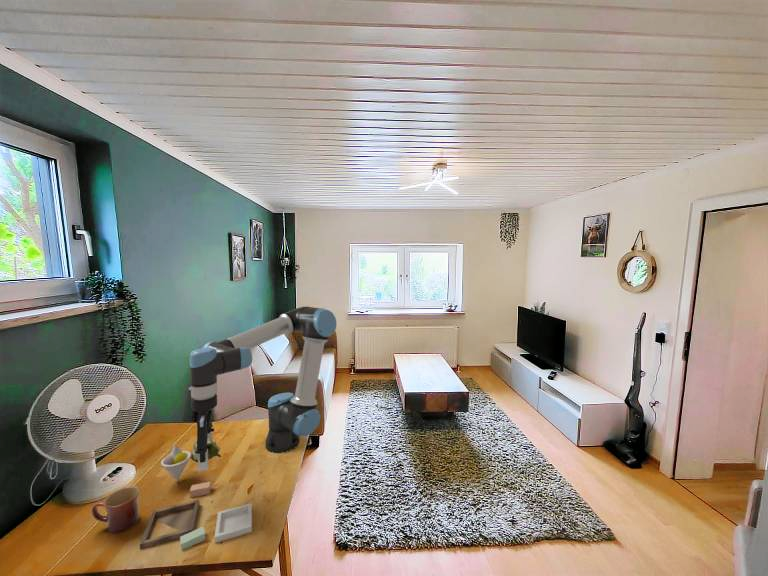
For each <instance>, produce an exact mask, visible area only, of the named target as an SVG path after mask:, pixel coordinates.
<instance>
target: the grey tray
mask: <svg viewBox="0 0 768 576" xmlns="http://www.w3.org/2000/svg"><path fill="white" fill-rule="evenodd" d="M252 524H253V504H252V502H251V503H247V504H243V505H239V506H235V507H233V508H227V509H225V510H221V511H217V517H216V524H215V531H214V532H215V533H214V543H216V544H217V543H219V542H223V541H226V540H229V539H234V538H239V537H241V536H244V534H245V535H248V534H250V533H249V532H252V531H253V528H252V527H253V525H252ZM247 533H248V534H247ZM252 533H253V532H252Z"/></svg>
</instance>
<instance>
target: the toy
mask: <svg viewBox="0 0 768 576" xmlns="http://www.w3.org/2000/svg"><path fill="white" fill-rule="evenodd" d="M191 454H192V453H191V452H190V451H188V450H181V449H180V448H179V447H178V445H177V444H176V443H175V444H174V445H173V448H172V450H171V451H170V453H168V454H167V455H166V456H165V457H163V458H162V460H161V461H160V464H161V466H162V467H163V468H164V470H166V471H167V472H168V474H170V476H171V477H172V478H173V479H174V480H175V481H176V482H179V480H180V477H181V476H182V473H183V472H184V470H185V467H186V466H187V464H188V461H189V459H191V458H190V456H191Z"/></svg>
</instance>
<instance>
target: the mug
mask: <svg viewBox="0 0 768 576" xmlns="http://www.w3.org/2000/svg"><path fill="white" fill-rule="evenodd" d="M140 492H141V489H140V488H139V486H126V487H123V488H120V489H117V490H115V491H114V492H112V493H110V494H109V495H107V497H106V498H105V499H104V500H100V501H98V502H96V503H94V505H93V506H92V508H91V513H92V516H93V518H94V519H95V520H96V521H99V522H102V523H107V529H108V531H109V533H112V534H119V533H122V532H125V531H127V530H130V528H131V529H132V528H133V527H134V526H135V525H136V524H137V523H138V521H139V515H140V512H139V510H140V509H139V505H138V504H139V503H138V500H139V495H140ZM98 507H103V508H104V509H105V510H106V514H107V515H102V514H100V513H99V511H98Z"/></svg>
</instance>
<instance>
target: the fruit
mask: <svg viewBox="0 0 768 576" xmlns="http://www.w3.org/2000/svg"><path fill="white" fill-rule="evenodd" d="M207 449H208V461H210V460H211V459H213V458H214V457H218V458H221V457H222V455H220V454H219V452H220V451H221V447H219V446H218V445H217V441H216V440H215V441H213V439H212V440H210V439H207ZM195 451H197V440H196V441H195V442H193V447H192V452H191V453H190V454H191V456H190V458H189V459H190V460H192V461H193V462H195V463H198V454H197V453H195Z"/></svg>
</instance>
